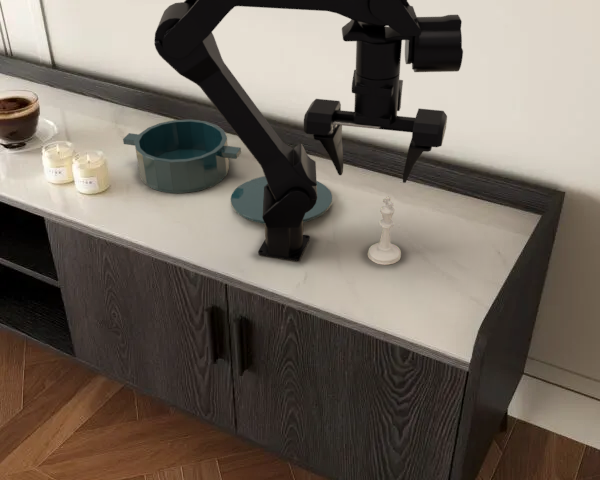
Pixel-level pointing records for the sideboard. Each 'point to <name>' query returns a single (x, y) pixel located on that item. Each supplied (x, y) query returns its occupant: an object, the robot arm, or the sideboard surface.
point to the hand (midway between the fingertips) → (372, 177)
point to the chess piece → (385, 239)
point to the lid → (252, 194)
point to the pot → (182, 155)
